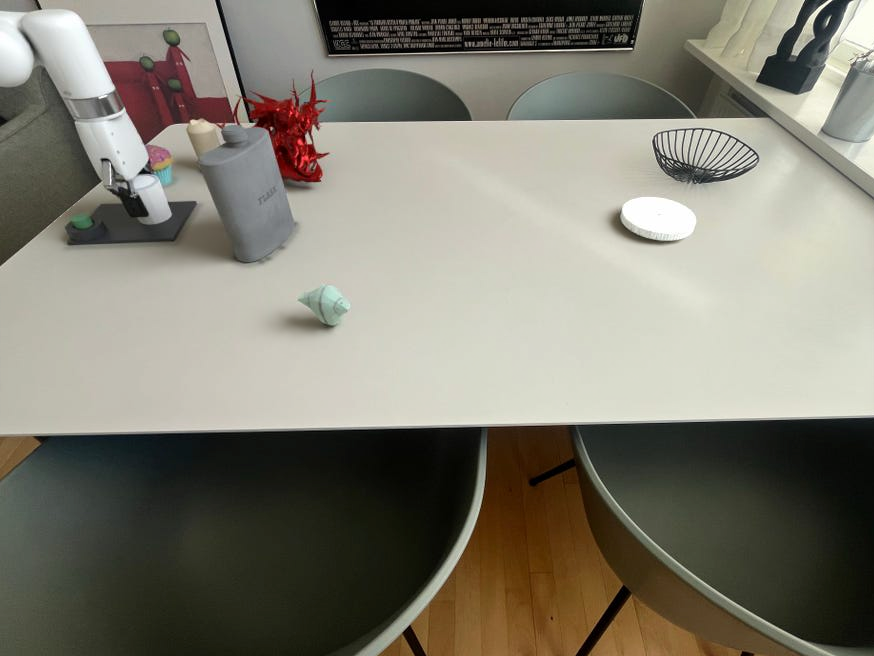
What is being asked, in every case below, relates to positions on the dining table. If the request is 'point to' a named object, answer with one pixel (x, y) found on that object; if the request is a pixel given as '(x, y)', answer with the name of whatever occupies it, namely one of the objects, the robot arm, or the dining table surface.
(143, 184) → the shot glass
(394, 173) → the dining table surface
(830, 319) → the dining table surface
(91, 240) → the scale
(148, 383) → the dining table surface
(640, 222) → the plastic lid
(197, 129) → the candle
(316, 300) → the mint green pointed part
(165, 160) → the cupcake
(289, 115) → the sculptural form
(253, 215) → the flask
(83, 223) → the tare button
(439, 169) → the dining table surface
